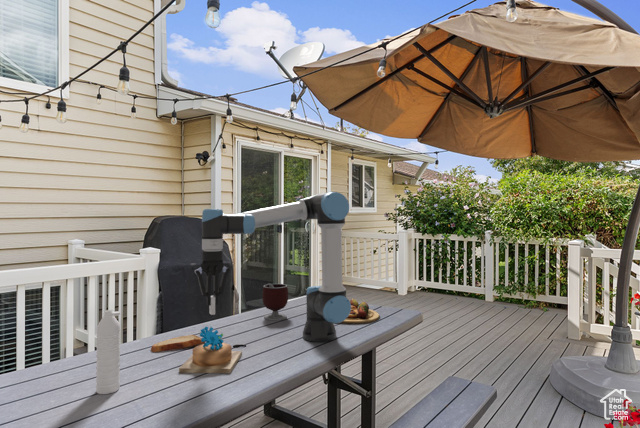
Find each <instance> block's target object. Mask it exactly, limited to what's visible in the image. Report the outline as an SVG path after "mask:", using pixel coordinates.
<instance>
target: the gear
mask: <svg viewBox="0 0 640 428" xmlns="http://www.w3.org/2000/svg"><path fill="white" fill-rule="evenodd" d="M213 330H214V327H213V326H210V327H208V326H204V327H203V328H201V329H200V333H199V336H198V337H200V338H201V341H202V342H205V343H204V345H203V347H204V348H205V347H208V346H209V345H212V346H211V347H210V349H211V350H213V349H214V345H215V346H216V348H215V349H216V350H219V348H221V347H222V346H223V345H222V343H225V342H224V339H222V338H223V336H224V334H223V333H220V334H219V331H218V329H216V330H214V331H213ZM218 345H219V346H218Z"/></svg>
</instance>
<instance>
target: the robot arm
mask: <svg viewBox="0 0 640 428" xmlns="http://www.w3.org/2000/svg"><path fill="white" fill-rule="evenodd" d="M349 212H350V203H349V201H348V199H347V197H346V196H345V195H344V194H343V193H340V192H337V191H327V192H322V193H317V194H315V195H311V196H308V197H305V198H300V199H299V200H298V201H296V202H290V203H286V204H280V205H275V206H269V207H263V208H259V209H254V210H249V211H243V212H237V213H230V214H227V213H224V210H223V209H222V208H204V209H203V210H202V215H201V250H202V252H201V263H200V267H199V268H197V269H194V273H195V274H196V277H197V281H198V286H199V289H200V292H201V295H202V296H204V297H206V305H207V306H209V307H208V310H209V311H208V312H209V314H210V315H211V316H212V315H213V316H215V315H216V306H217V305H218V304H219V296H220V295H223V294H224V290H225V287H226V282H227V277H228V275H229V273H230V271H231V269H230V268H229V267H227V266H225V264H224V252H223V248H224V245H223V243H224V241H223V240H224V239H223V238H224V237H223V236H224V235H248V234H253V233H254V232H255V229H256V228H262V227H268V226H272V225H277V224H282V223H288V222H293V221H297V220H302V221H310V220H317V222H316V223H317V226H318V227H319V228H320V237H321V241H320V243H321V285H313V286H309V287H307V288H306V293H305V296H306V321H305V325H304V326H303V327H304V328H303V330H302V339H303V340H306V341H307V342H314V343H325V342H330V341H331V342H332V341H334V340H335V339H336V338H337V330H336V327H335V324H339V323H340V322H342V321H344V320H345V319H346V318H347V317H348V316H349V314H350V311H351V304H350V299H349V298H348V297H347V288H346V287H345V286H344V284H343V247H342V245H343V244H342V243H343V242H342V240H343V238H342V237H343V236H342V228H343V227H344V225H346V217H347V215H348V214H349ZM221 272H222V274H221V278H220V277H219V275H220V273H221ZM203 273H204V274H205V276H206V278H205V279H206V282H205V283H204V280H203V279H204V278H203V275H202V274H203ZM212 277H213V279H212ZM219 278H220V283H219ZM212 280H213V281H212ZM212 282H213V286H212ZM205 284H206V285H205ZM212 287H213V288H212ZM212 289H213V295H212Z"/></svg>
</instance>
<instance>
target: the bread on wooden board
mask: <svg viewBox="0 0 640 428" xmlns="http://www.w3.org/2000/svg"><path fill="white" fill-rule="evenodd" d="M204 344H205V343H204ZM204 344H201V345H198V346H194V348H192V355H190V357H189V358H187V360H186V361H184V363H182V365H180V366H179V368H178V373H180V374H181V373H182V374H183V373H185V374H210V373H211V374H231V373H232V371H233V370H234V368H235V367H236V365H237V364H238V362H239V360H240V359H241V357H242V355H243V351H241V350H240V351H239V350H238V351H236V350H234V351H233V350H232V348H233V347H232V345H231V344H229V343H226V342H223V343H222V345H223V346H222V347H221V348H219V350H216V349H215V348H216V346H215V345H214V349H213V350H211V349H210V347H211V346H212V345H209V346H208V347H205V348H204V347H203V345H204ZM218 346H219V345H218Z"/></svg>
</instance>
